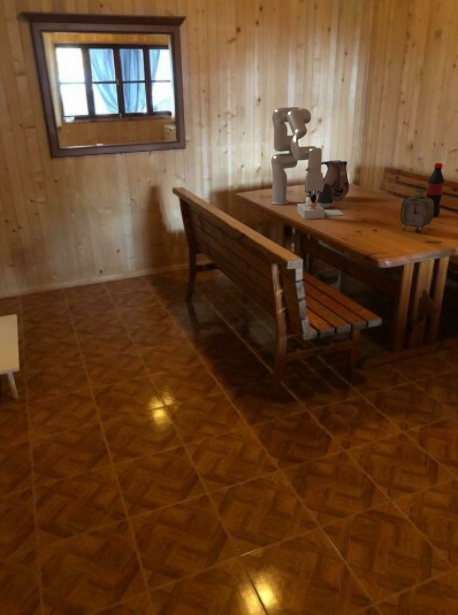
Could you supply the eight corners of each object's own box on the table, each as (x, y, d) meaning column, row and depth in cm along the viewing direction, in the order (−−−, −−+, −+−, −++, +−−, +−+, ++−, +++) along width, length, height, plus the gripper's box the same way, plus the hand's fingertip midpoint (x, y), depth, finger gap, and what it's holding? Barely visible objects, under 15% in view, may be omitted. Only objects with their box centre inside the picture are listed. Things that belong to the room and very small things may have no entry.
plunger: (307, 211, 302) (308, 201, 299) (315, 211, 302) (316, 201, 300) (309, 213, 297) (310, 203, 295) (318, 213, 297) (318, 203, 295)
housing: (297, 211, 313) (297, 203, 311) (316, 210, 314) (316, 202, 312) (304, 218, 296) (304, 210, 294) (324, 217, 297) (324, 209, 295)
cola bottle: (438, 214, 298) (446, 162, 285) (439, 217, 290) (447, 164, 278) (423, 213, 300) (430, 161, 288) (423, 217, 293) (430, 164, 281)
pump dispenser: (333, 209, 316) (334, 184, 310) (316, 209, 318) (317, 184, 312) (333, 205, 325) (335, 181, 319) (317, 205, 327) (318, 181, 321)
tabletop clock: (398, 230, 269) (403, 183, 259) (406, 227, 275) (412, 180, 264) (424, 235, 259) (431, 186, 249) (432, 231, 265) (439, 183, 255)
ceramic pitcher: (350, 201, 334) (353, 162, 324) (318, 202, 335) (320, 163, 325) (345, 196, 350) (347, 159, 340) (314, 196, 351) (316, 159, 341)
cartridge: (304, 213, 310) (305, 193, 305) (311, 212, 310) (312, 193, 305) (306, 214, 306) (307, 194, 301) (313, 214, 306) (314, 194, 301)
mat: (322, 211, 311) (322, 210, 311) (338, 210, 312) (338, 209, 312) (327, 216, 300) (327, 215, 300) (344, 215, 301) (344, 214, 301)
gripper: (303, 171, 285) (302, 204, 293) (329, 170, 287) (327, 202, 294) (300, 169, 292) (299, 201, 300) (325, 168, 293) (323, 200, 301)
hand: (313, 202), depth 297 cm, fingers closed
